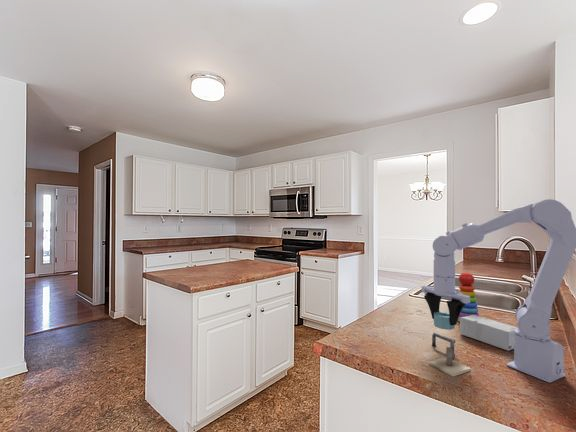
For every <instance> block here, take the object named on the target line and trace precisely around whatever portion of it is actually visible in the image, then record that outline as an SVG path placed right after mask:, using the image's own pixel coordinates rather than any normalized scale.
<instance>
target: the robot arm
mask: <svg viewBox="0 0 576 432" xmlns="http://www.w3.org/2000/svg"><path fill="white" fill-rule="evenodd" d="M572 216H573V215H572V212H571V211H570V210H569V209H568V208H567V207H566V206H565V204H563V203H562V202H560V201H559V200H556V199H551V198H549V199H548V198H547V199H543V200H540V201H537V202H535V203H530V204H527V205H524V206H519V207H515V208H514V209H511V210H509V211H507V212H505V213H503V214H500V215H498V216H496V217H494V218H492V219H490V220H487V221H485V222H483V223H480V224H476V223H474V222H471V223H469V224H468V223H463V224H461V226H462V227H459V228H457V229H455V230H452V231H446V232H445V235H439V236H438V237H436V238H435V239H434V241H433V242H432V249H433V252H434V253H433V257H434V260H433V286H429V285H421V293H424V294H425V293H426V294H425V295H423V296H424V297H423V298H424V299H425V301H426V303H427V305H428V308H429V311H430V315H431V318H432V320H434V312H440V305H441V300H442V298H445V299H450V300H447V301H446V304H447V308H448V313H449V322H450V325H452V326H453V325H455V326H456V325H458V324H457V323H458V322H459V321H458V317H459V315H460V312H461V310H462V309H463V307H464V306H465V304H467V303H470V296H468V295H465V294H462V293H459V291H457V290H456V261H455V251H457V250H458V251H462V250H464V249H466V248H469V247H472V246H474V245H476V244H479V243H481V242H483V241H484V238H485V236H486V235H488V234H490V233H493V232H495V231H498V230H501V229H503V228H506V227H509V226H511V225H514V224H517V223H520V224H521V223H535V224H536V225H537V226H539V227H540V228H542V229H543V231H544V232H545V233H546V235H547V236H548V238H550V241H549V244H548V246H547V249H546V251H545V254H544V256H543V258H542V259H543V260H542V262H541V264H540V267H539V268H538V271H537V273H536V276H535V280H534V282H533V285H532V286H531V289H530V290H529V291H530V292H529V294H528V296H527V297H526V298H525V300H524V301H523V304H522V305H521V306H519V307H518V308H517V309H516V310H515V315H514V317H515V320H516V321H517V326H516V327H517V328H516V329H514V349H513V361H510V362H508V363H506V366H507V367H509V368H512V369H514V370H517V371H519V372H522V373H525V374H527V375H530V376H531V377H534V378H536V379H539V380H542V381H545V382H547V383H552V382H555V381H558V380H559V379H561V378H564V377H566V373H565V371H564V370H565V350H564V346H563V345H562V344H561V343H559V342H557V341H555V340H552V338H551V336H550V333H551V325H550V318H551V317H552V309H553V304H554V301H555V298H556V296H557V294H558V291H559V289H560V286H561V284H562V282H563V280H564V277H565V275H566V272H567V270H568V267H569V265H570V262H571V260H572V257H573V255H574V253H575V251H576V225H575V223H574V220H573V217H572Z"/></svg>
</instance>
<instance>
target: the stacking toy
mask: <svg viewBox="0 0 576 432" xmlns="http://www.w3.org/2000/svg"><path fill="white" fill-rule="evenodd" d="M458 280H459V283H460V285H459V286H458V288H459V291H458V292H459V293H462V294H465V295H468V296H470V303H467V304H465V306H464V307H463V309H462V310H461V312H460V315H459V317H458V321H457V322H459V323H460V318H461V317H466V316H471V315H476V316H479V317H480V313H478V312H479V307H478V302H477V297H475V296H476V292H475V286H474V285H473V284H474V283H475V277H474V275H473V274H472V273H470V272H462V273H460V274H459V276H458Z"/></svg>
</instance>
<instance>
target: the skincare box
mask: <svg viewBox="0 0 576 432" xmlns="http://www.w3.org/2000/svg"><path fill="white" fill-rule="evenodd" d="M459 323H460V324H459V335H462V336H464V337H469V338H471V339H474V340H477V341H480V342H481V343H485V344H488V345H490V346H494V347H497V348H499V349H502V350H505V351H507V352H508V351H511V350H514V329H516V328H517V327H518V326H514V325H510V324H506V323H504V322H500V321H497V320H494V319H490V318H486V317H482V316H480V315H479V316H476V315H471V316H466V317H461V318H460V322H459Z"/></svg>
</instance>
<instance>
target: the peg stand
mask: <svg viewBox="0 0 576 432" xmlns="http://www.w3.org/2000/svg"><path fill="white" fill-rule="evenodd" d="M445 352H446V353H445V355H446V356H444V357H440V358H438V359H437V358H436V359H434V360H431V361H430V360H429V361H428V365H430V366H432V368H433V367H434V368H436V369H437V370H440V371H441V372H443V373H445V374H446V375H449V376H452V377H457V376H459V375H462V374H464V373H468V372H470V371H472V368H471V367H469V366H467V365H465V364H462V363H461V362H458V361H457V360H455V359H454V360H452V348H451V347H450V346H446V351H445Z"/></svg>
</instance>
